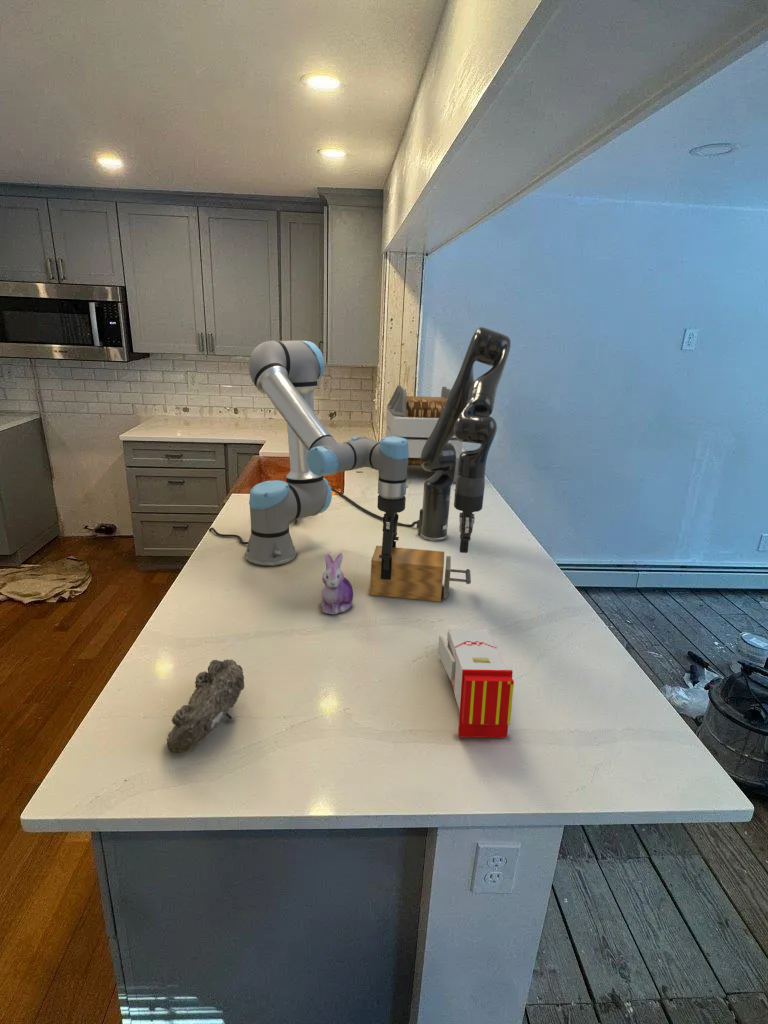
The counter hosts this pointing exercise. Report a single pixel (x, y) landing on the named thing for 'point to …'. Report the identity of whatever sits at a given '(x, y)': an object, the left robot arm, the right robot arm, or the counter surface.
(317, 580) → the counter surface
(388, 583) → the cabinet
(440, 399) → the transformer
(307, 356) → the left robot arm
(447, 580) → the drawer
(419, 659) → the counter surface
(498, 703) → the toy
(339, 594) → the figurine
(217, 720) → the fossil
